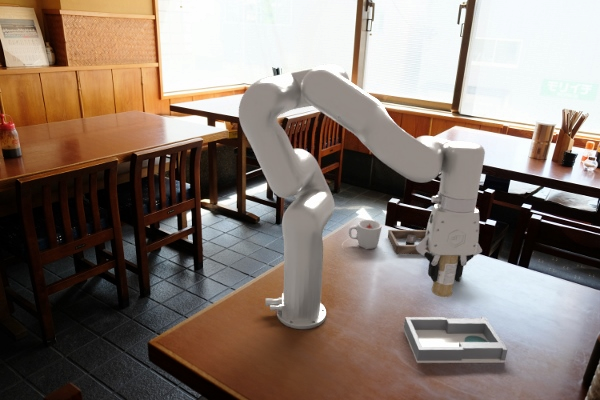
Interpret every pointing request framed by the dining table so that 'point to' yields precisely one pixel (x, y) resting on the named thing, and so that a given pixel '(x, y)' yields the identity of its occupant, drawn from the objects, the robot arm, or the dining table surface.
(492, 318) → the dining table surface
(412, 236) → the grey red patterned block
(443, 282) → the spice jar
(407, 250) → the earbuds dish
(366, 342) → the dining table surface
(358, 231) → the cup
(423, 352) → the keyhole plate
